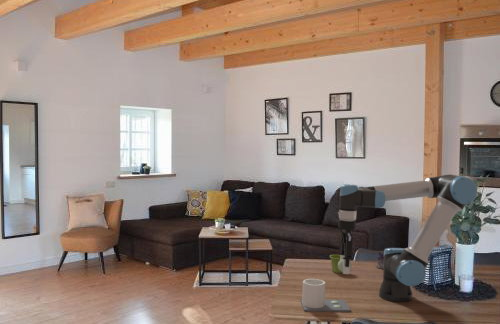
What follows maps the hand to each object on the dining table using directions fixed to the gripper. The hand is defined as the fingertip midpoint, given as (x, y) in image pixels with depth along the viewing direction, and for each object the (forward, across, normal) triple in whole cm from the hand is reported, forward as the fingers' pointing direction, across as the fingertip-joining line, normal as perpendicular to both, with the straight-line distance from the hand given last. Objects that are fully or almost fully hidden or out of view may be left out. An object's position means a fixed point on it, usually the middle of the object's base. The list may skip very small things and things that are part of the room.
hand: (344, 271), depth 206 cm
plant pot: (+15, -56, +9) cm, 59 cm away
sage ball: (-3, 0, 0) cm, 3 cm away
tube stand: (+16, 0, -8) cm, 18 cm away
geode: (+15, -69, +43) cm, 83 cm away
